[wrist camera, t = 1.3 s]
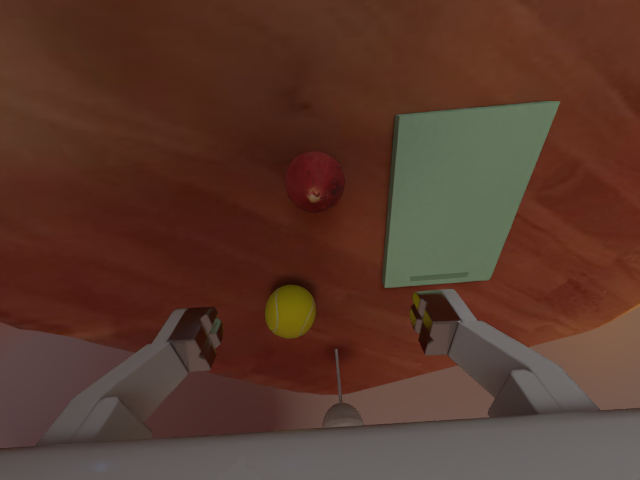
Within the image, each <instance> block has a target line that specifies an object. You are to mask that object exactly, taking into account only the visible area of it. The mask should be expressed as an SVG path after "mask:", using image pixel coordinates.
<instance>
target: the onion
mask: <svg viewBox="0 0 640 480" xmlns="http://www.w3.org/2000/svg"><path fill="white" fill-rule="evenodd" d="M344 185H345V178H344V174H343V170H342V167H341V166H340V165H339V164H338V162H337V161H336V160H335V159H334V158H333V157H331V156H329V155H328V154H326V153H324V152H317V151H309V152H306V153H302V154H300V155H299V156H298V157H296V158H295V159H294V160H292V162H291V163H290V165H289V167H288V169H287V171H286V176H285V187H286V190H287V193H288V196H289V198H290V199H291V200H292V201H293V203H294V204H295V205H296V206H297V207H299V208H300V209H302V210H304V211H307V212H314V213H317V212H322V211H326V210H328V209H329V208H331V207H333V206H334V205H335V204H336V203H337V201H338V200H339V199H340V197H341V196H342V194H343V189H344Z"/></svg>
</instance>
